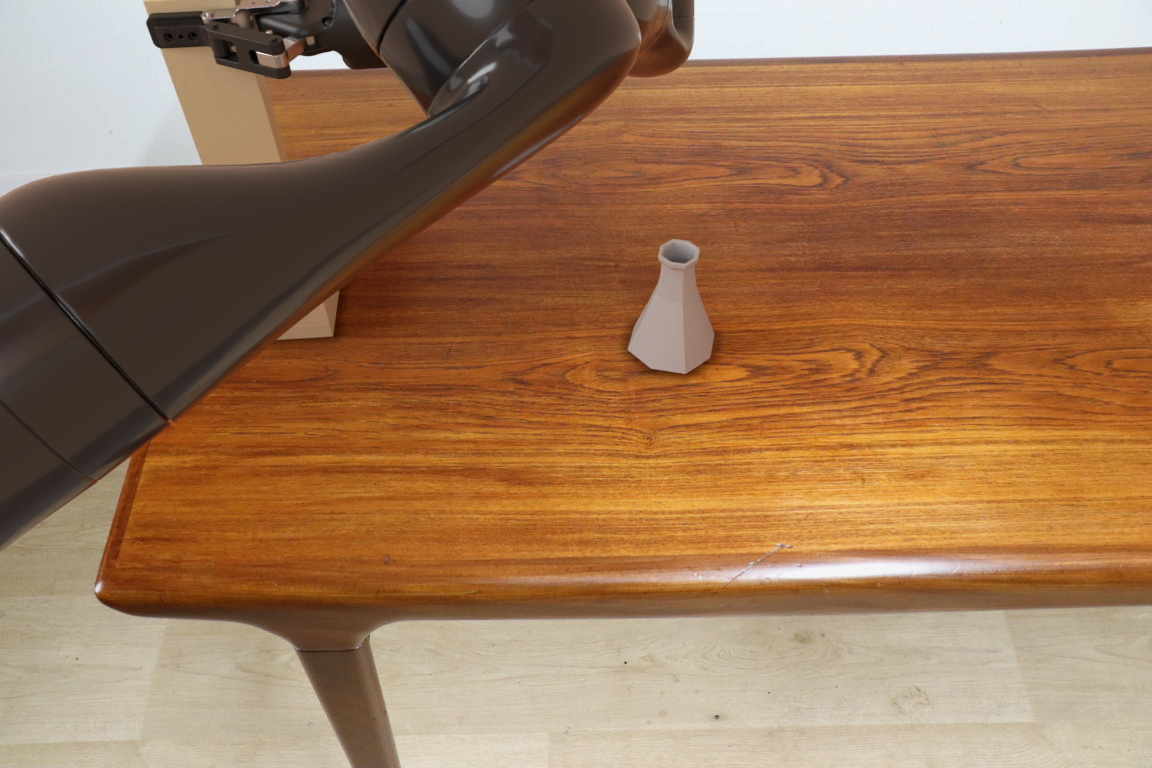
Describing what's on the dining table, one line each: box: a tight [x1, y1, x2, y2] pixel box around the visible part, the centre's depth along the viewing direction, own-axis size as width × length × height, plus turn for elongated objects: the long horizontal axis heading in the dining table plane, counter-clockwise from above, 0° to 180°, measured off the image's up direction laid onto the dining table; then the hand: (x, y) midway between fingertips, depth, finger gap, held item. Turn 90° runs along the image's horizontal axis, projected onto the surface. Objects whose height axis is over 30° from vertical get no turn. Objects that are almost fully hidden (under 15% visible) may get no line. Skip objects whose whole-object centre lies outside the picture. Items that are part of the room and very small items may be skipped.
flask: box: [627, 238, 716, 375], centre depth 76 cm, size 7×7×10 cm
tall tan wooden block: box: [142, 0, 289, 165], centre depth 69 cm, size 6×2×15 cm, turn 94°
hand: (156, 22), depth 65 cm, fingers closed on tall tan wooden block, 2 cm apart
